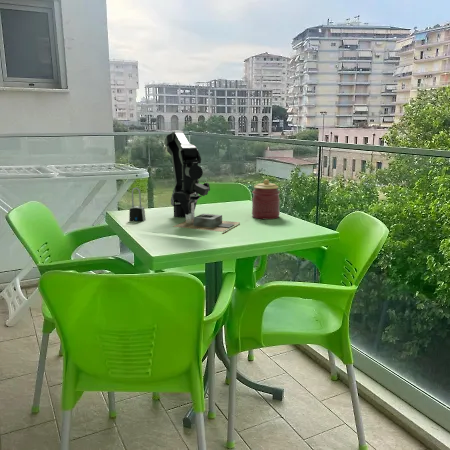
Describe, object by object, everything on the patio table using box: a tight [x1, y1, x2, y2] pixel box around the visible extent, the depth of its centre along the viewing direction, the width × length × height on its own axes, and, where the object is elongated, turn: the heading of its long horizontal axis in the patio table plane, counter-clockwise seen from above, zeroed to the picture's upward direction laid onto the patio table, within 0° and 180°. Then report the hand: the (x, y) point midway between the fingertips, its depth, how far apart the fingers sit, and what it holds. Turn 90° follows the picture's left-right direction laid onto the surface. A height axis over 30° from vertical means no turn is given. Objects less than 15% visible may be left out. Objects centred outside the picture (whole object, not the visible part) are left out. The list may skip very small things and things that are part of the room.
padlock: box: [128, 187, 147, 222], centre depth 187 cm, size 7×4×15 cm, turn 86°
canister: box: [251, 179, 281, 220], centre depth 193 cm, size 13×13×18 cm
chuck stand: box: [172, 213, 241, 235], centre depth 175 cm, size 23×18×4 cm
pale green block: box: [185, 200, 198, 224], centre depth 178 cm, size 6×3×10 cm, turn 67°
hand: (190, 213), depth 178 cm, fingers open, 5 cm apart
